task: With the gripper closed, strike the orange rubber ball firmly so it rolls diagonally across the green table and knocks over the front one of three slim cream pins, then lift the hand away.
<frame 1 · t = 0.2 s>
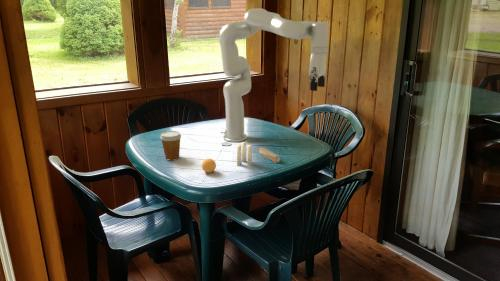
hand: (317, 88, 186), 31 cm above the table, tool pointing down, fingers open, 9 cm apart
back right pin: (249, 164, 182), on the table
front pin: (239, 164, 182), on the table
ball: (208, 165, 174), on the table
disposable coffee cup: (172, 158, 191), on the table
back wall: (269, 157, 190), on the table
back left pin: (244, 161, 186), on the table
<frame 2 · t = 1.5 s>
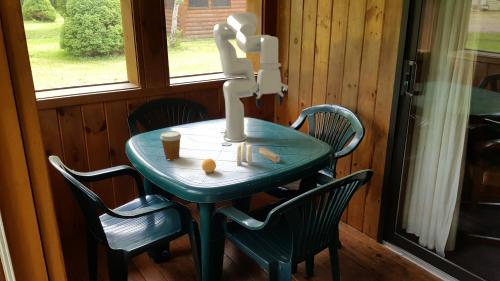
hand: (269, 106, 177), 26 cm above the table, tool pointing down, fingers open, 9 cm apart
nothing on the table moved.
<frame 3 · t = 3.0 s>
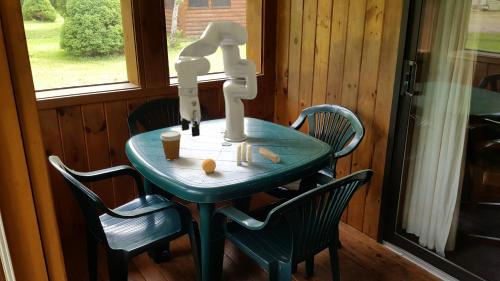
hand: (190, 133, 165), 19 cm above the table, tool pointing down, fingers open, 9 cm apart
nothing on the table moved.
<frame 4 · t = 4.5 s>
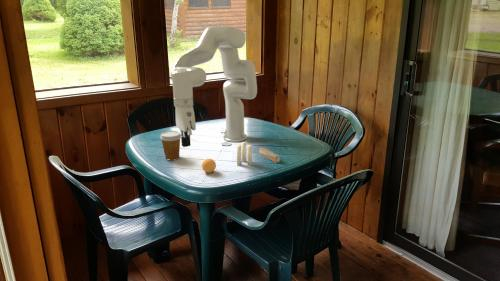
hand: (186, 145, 165), 14 cm above the table, tool pointing down, fingers closed
nothing on the table moved.
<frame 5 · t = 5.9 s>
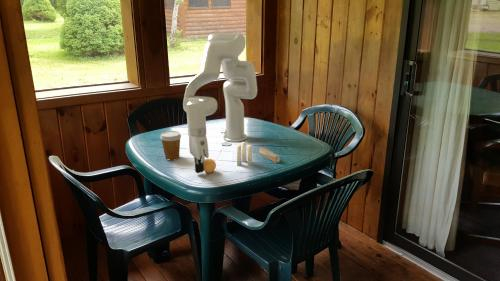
hand: (199, 171, 172), 1 cm above the table, tool pointing down, fingers closed
ball: (208, 165, 174), on the table, touching gripper
everything else where it was.
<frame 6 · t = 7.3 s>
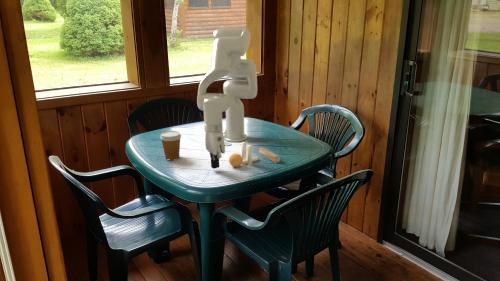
hand: (215, 167, 176), 2 cm above the table, tool pointing down, fingers closed
front pin: (242, 162, 182), point 1 cm above the table, tilted 90°
ball: (235, 160, 179), on the table
everything else where it was.
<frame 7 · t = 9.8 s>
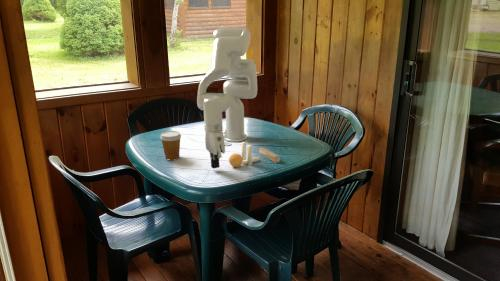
hand: (215, 167, 176), 2 cm above the table, tool pointing down, fingers closed
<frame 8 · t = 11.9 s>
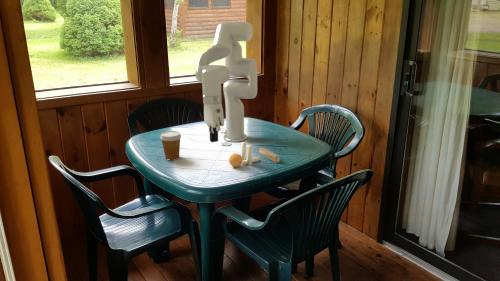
hand: (214, 141, 172), 13 cm above the table, tool pointing down, fingers closed
nothing on the table moved.
at the end: front pin tilted 90°; front pin never touched the robot; ball moved 12.9 cm from its start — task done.
